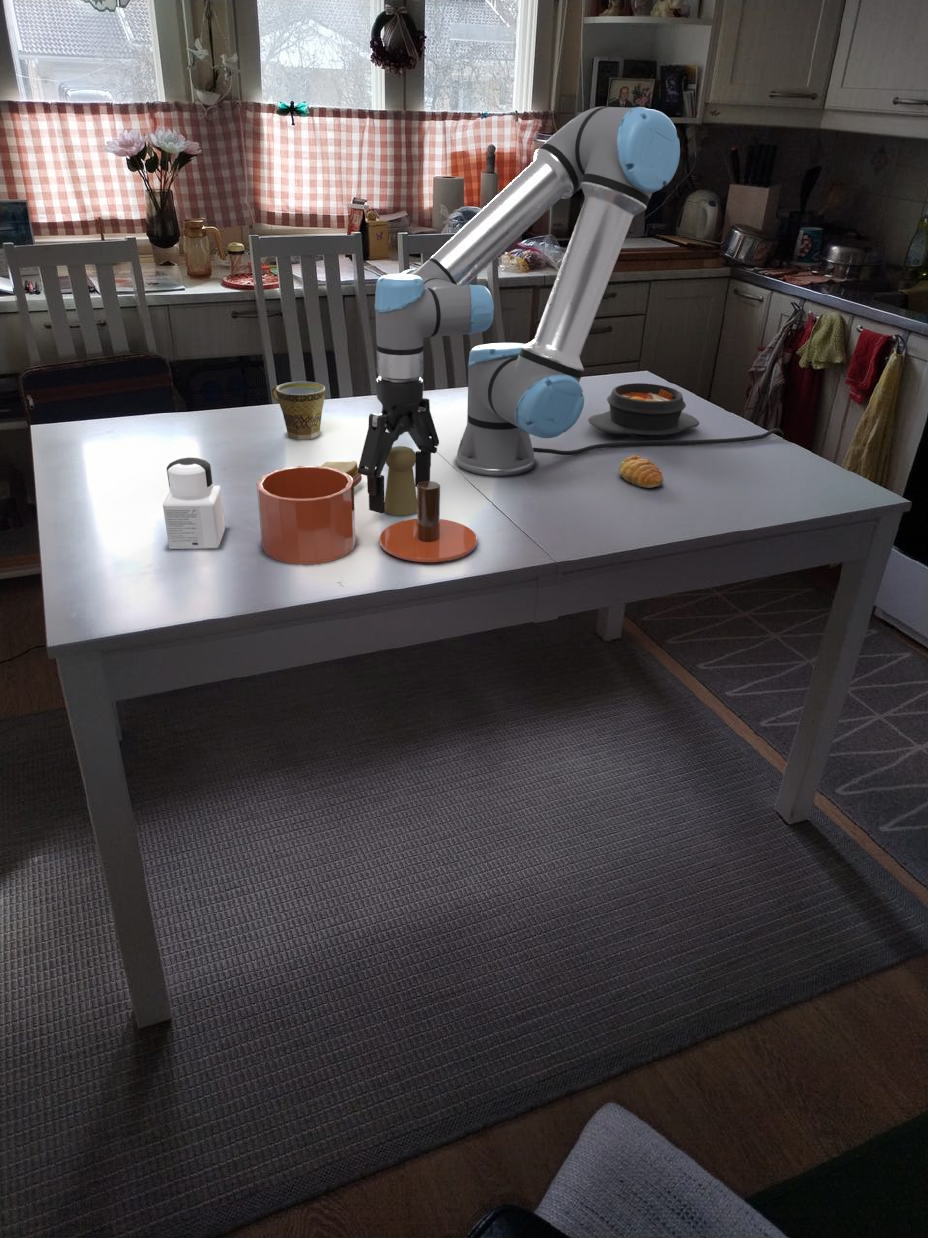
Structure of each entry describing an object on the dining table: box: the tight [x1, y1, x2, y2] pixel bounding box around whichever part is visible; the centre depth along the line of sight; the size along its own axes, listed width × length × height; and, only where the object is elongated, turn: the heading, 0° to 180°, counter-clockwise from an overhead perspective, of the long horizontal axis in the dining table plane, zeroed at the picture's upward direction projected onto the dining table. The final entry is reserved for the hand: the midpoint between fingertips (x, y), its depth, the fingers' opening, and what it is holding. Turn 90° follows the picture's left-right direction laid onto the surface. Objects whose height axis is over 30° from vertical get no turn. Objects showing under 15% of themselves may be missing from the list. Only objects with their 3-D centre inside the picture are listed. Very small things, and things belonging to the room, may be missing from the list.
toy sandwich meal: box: [320, 460, 363, 488], centre depth 167 cm, size 12×14×5 cm
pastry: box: [618, 455, 664, 489], centre depth 174 cm, size 9×7×4 cm
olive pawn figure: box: [384, 445, 417, 517], centre depth 158 cm, size 6×6×11 cm
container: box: [162, 457, 226, 550], centre depth 144 cm, size 8×8×13 cm
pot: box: [256, 465, 357, 565], centre depth 145 cm, size 15×15×10 cm
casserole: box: [587, 382, 700, 438], centre depth 201 cm, size 25×19×8 cm
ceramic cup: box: [271, 380, 326, 441], centre depth 192 cm, size 13×10×10 cm
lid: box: [379, 480, 478, 563], centre depth 146 cm, size 16×16×10 cm
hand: (400, 499), depth 160 cm, fingers open, 13 cm apart
